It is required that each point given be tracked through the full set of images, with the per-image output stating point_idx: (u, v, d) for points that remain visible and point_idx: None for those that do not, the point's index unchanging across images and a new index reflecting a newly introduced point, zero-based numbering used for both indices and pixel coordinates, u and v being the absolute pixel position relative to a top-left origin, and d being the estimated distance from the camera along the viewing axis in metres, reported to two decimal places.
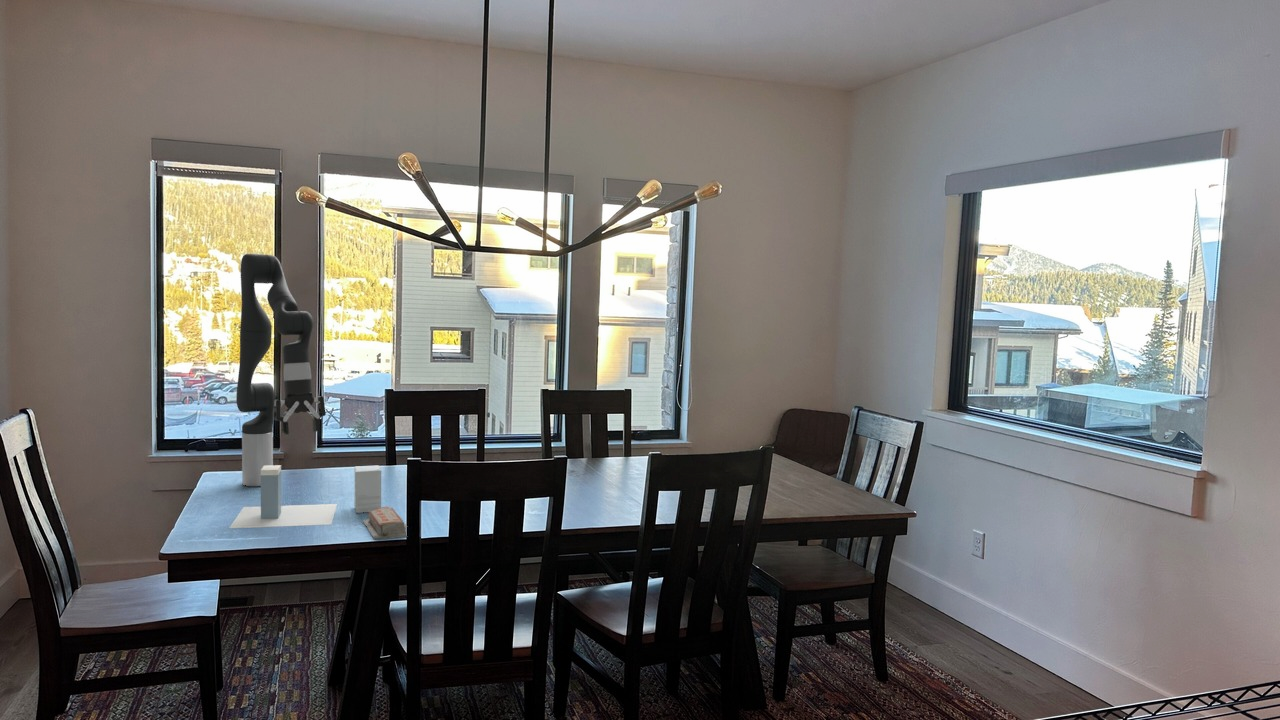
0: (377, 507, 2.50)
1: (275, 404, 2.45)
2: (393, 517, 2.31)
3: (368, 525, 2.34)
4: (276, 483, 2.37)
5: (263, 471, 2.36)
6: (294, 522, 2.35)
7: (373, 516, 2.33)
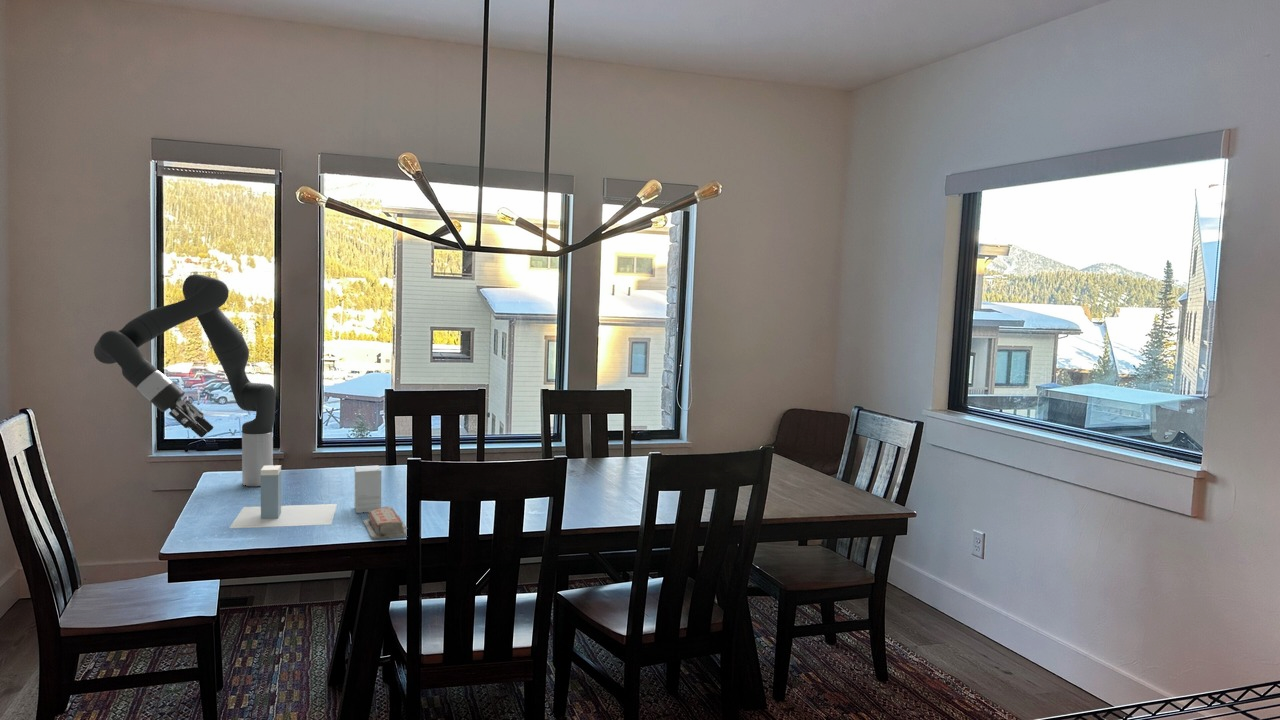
0: (377, 507, 2.50)
1: None
2: (392, 517, 2.30)
3: (367, 525, 2.34)
4: (276, 483, 2.37)
5: (263, 471, 2.36)
6: (294, 522, 2.35)
7: (372, 516, 2.33)
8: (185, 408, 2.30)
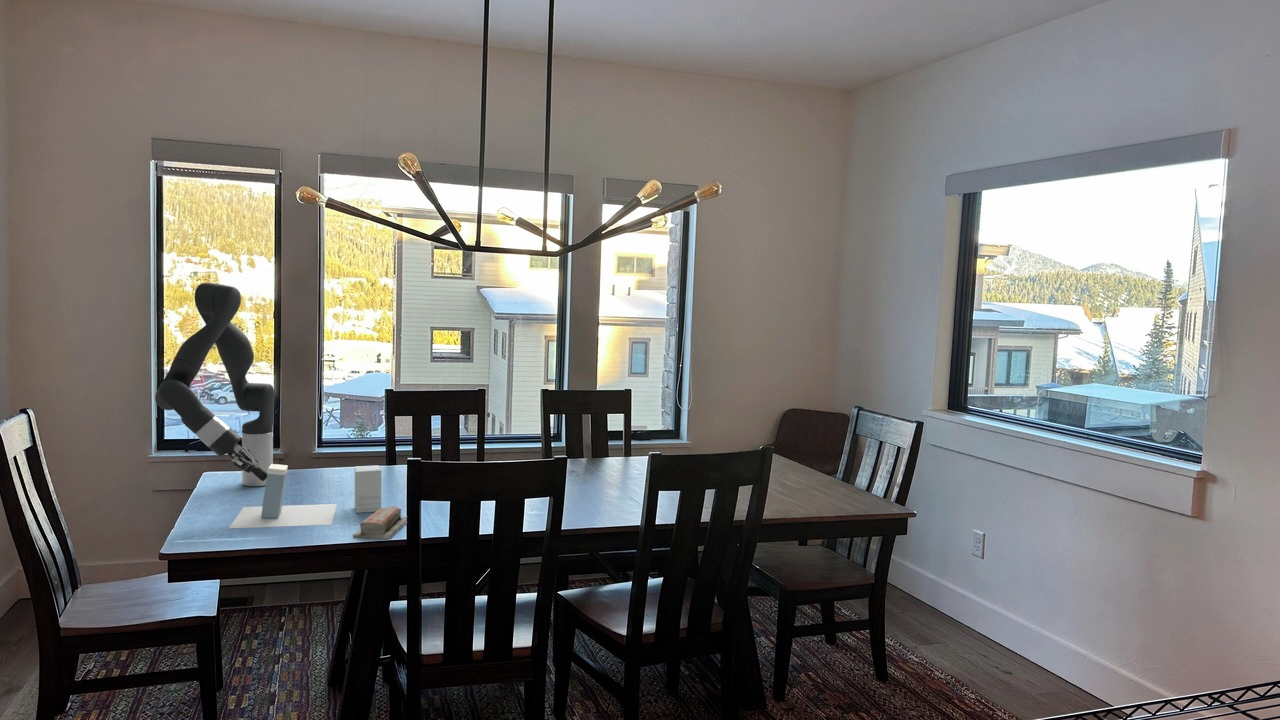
0: (377, 507, 2.50)
1: None
2: (382, 518, 2.29)
3: None
4: (281, 483, 2.37)
5: (270, 469, 2.36)
6: (294, 522, 2.35)
7: (372, 514, 2.35)
8: (244, 454, 2.35)
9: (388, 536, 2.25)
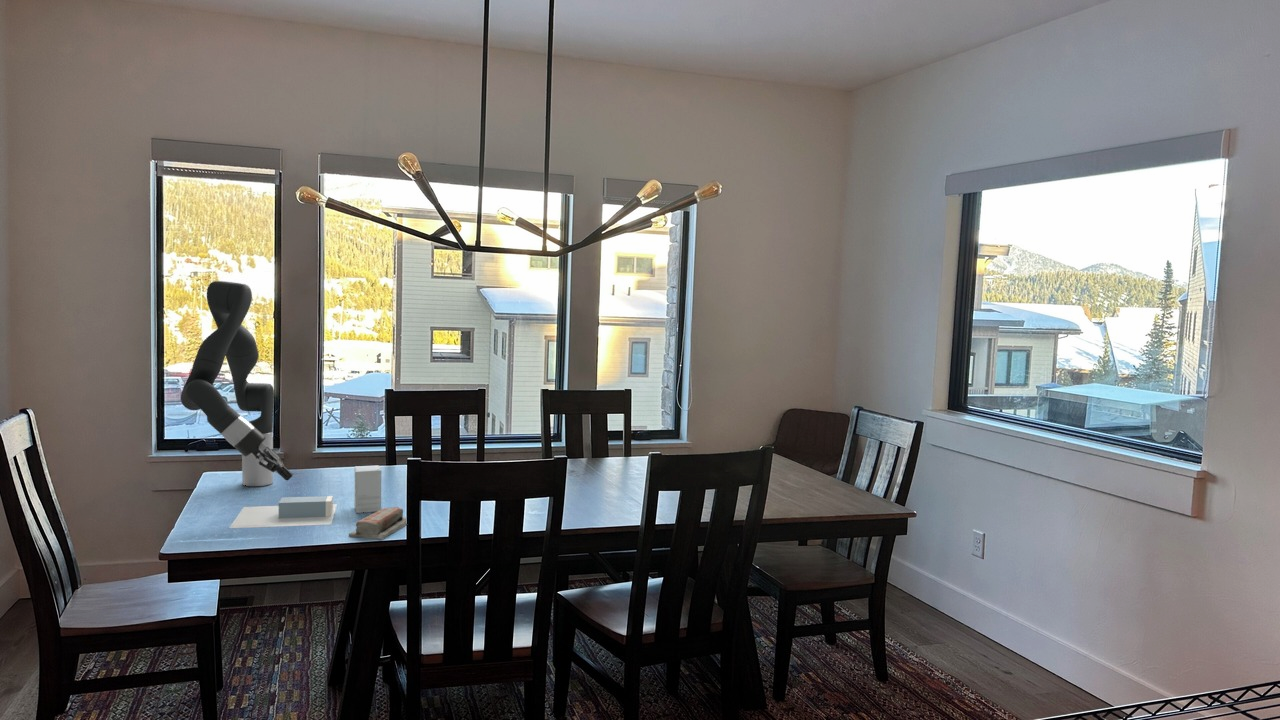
0: (377, 507, 2.50)
1: None
2: (379, 517, 2.29)
3: None
4: (316, 515, 2.41)
5: (329, 503, 2.41)
6: (294, 522, 2.35)
7: None
8: (269, 453, 2.37)
9: (382, 536, 2.24)
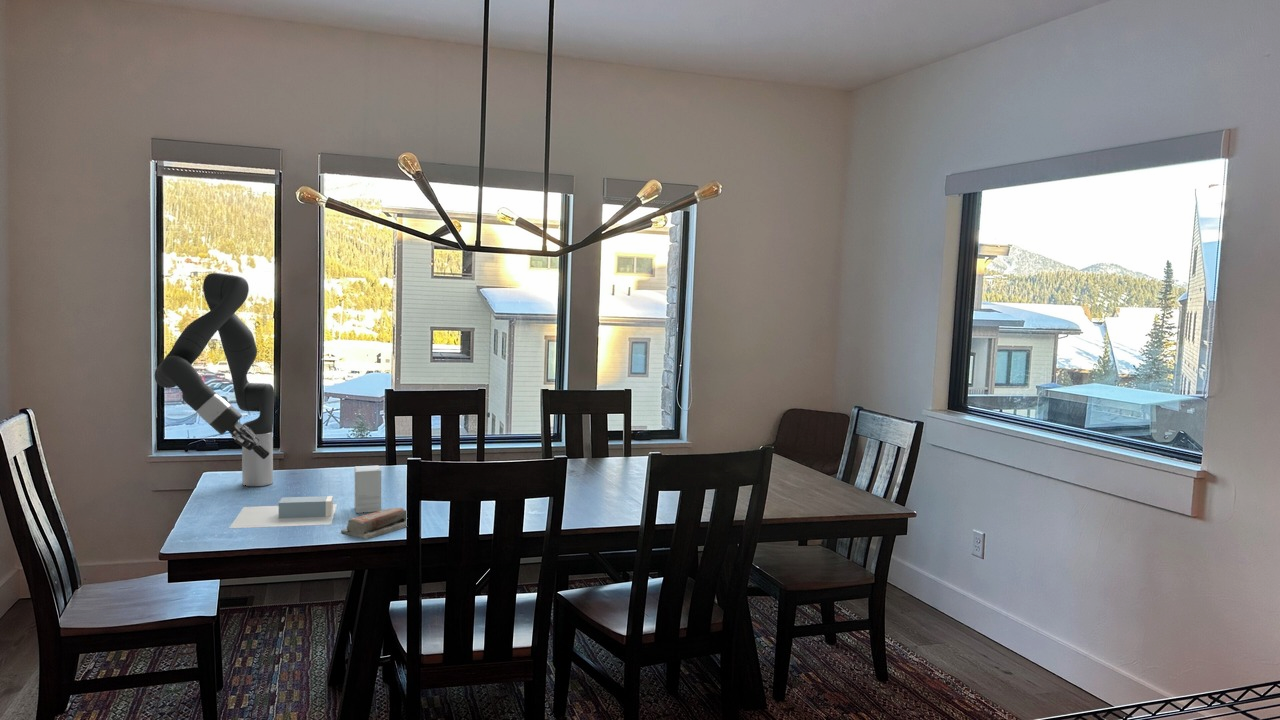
0: (377, 507, 2.50)
1: None
2: (372, 517, 2.30)
3: None
4: (316, 515, 2.41)
5: (329, 503, 2.41)
6: (294, 522, 2.35)
7: None
8: (245, 431, 2.35)
9: (367, 536, 2.24)
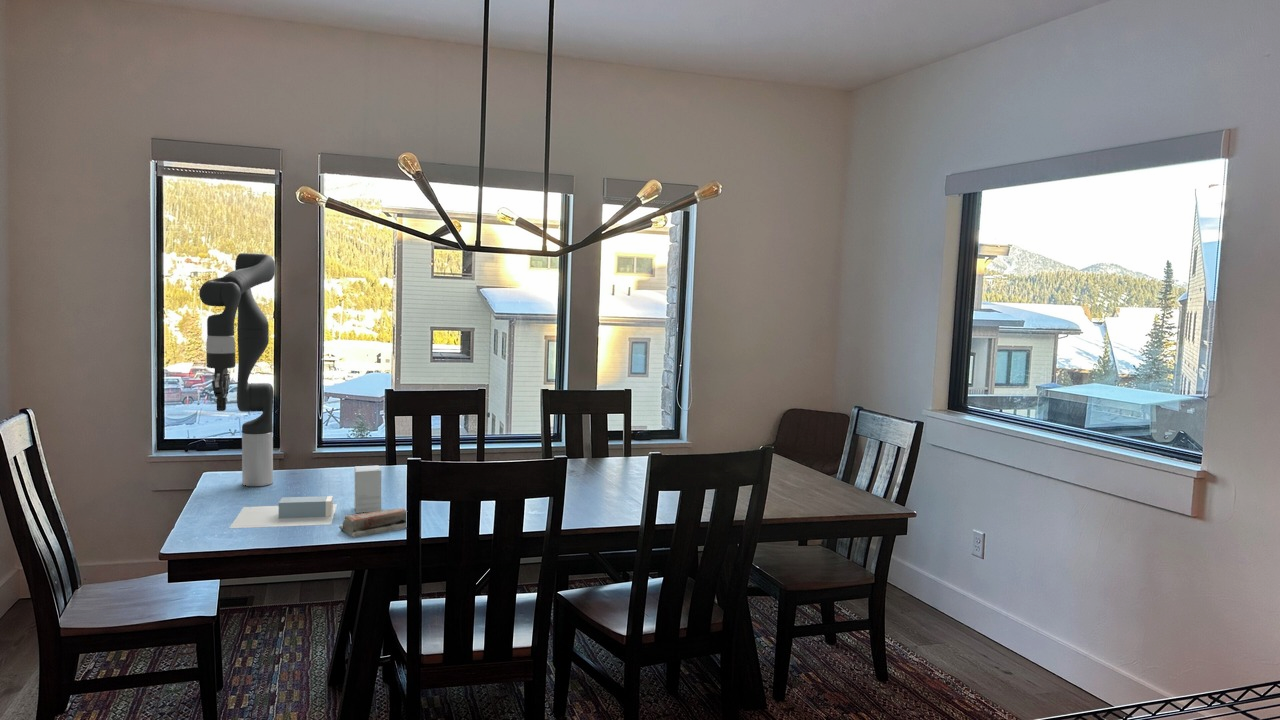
0: (377, 507, 2.50)
1: None
2: (367, 516, 2.31)
3: None
4: (316, 515, 2.41)
5: (329, 503, 2.41)
6: (294, 522, 2.35)
7: None
8: (225, 380, 2.43)
9: (354, 534, 2.25)
